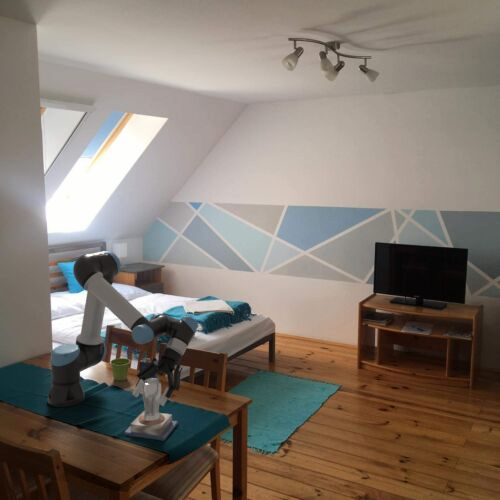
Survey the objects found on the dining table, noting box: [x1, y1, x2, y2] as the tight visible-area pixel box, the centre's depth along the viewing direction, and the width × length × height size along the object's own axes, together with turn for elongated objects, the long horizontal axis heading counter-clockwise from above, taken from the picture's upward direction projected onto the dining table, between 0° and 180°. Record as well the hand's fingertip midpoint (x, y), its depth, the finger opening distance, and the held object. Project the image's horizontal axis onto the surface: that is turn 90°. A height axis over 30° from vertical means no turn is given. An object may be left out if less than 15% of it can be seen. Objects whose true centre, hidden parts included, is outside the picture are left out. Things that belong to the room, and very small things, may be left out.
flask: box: [139, 357, 159, 379], centre depth 260 cm, size 9×3×11 cm, turn 74°
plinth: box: [130, 410, 173, 436], centre depth 210 cm, size 12×12×3 cm
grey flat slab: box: [124, 420, 179, 442], centre depth 211 cm, size 16×14×1 cm
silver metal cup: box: [142, 378, 162, 422], centre depth 209 cm, size 7×7×15 cm
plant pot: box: [109, 357, 131, 382], centre depth 260 cm, size 9×9×9 cm
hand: (147, 400), depth 207 cm, fingers open, 13 cm apart
